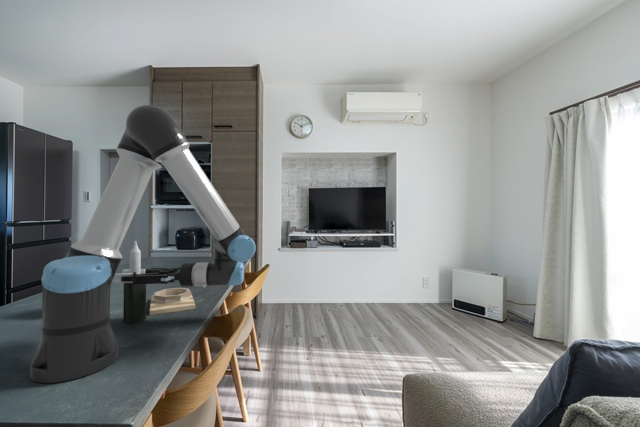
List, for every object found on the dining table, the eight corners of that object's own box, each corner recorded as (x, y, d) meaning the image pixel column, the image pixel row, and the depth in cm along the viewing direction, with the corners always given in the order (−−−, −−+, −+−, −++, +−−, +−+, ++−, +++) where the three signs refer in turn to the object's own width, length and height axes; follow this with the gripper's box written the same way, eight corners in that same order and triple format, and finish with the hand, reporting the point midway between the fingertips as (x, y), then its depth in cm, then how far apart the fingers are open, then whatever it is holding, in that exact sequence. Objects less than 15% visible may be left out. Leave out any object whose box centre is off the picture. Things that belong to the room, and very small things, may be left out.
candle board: (195, 308, 104) (195, 297, 104) (149, 315, 97) (149, 303, 97) (190, 295, 121) (190, 285, 121) (151, 299, 114) (151, 289, 114)
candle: (147, 319, 93) (148, 240, 93) (130, 324, 89) (130, 242, 89) (139, 316, 96) (139, 240, 96) (121, 320, 92) (122, 241, 92)
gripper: (185, 294, 86) (98, 296, 82) (202, 279, 104) (132, 281, 101) (185, 268, 86) (99, 269, 82) (202, 258, 104) (132, 259, 101)
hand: (117, 276), depth 92 cm, fingers closed on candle, 6 cm apart
